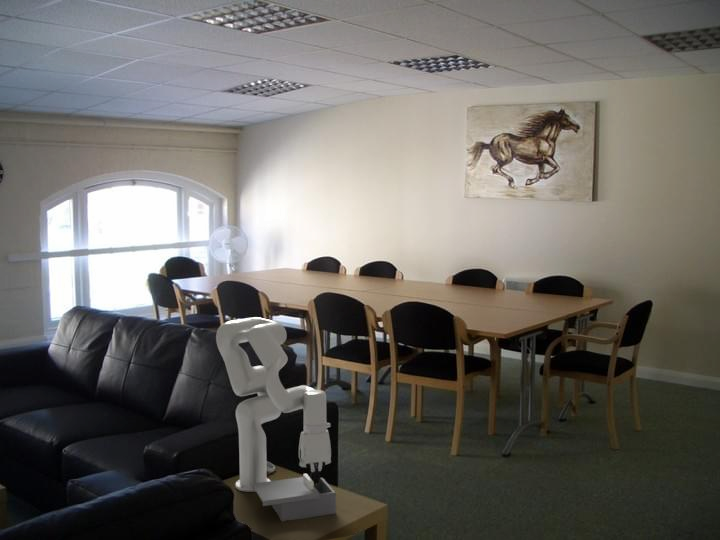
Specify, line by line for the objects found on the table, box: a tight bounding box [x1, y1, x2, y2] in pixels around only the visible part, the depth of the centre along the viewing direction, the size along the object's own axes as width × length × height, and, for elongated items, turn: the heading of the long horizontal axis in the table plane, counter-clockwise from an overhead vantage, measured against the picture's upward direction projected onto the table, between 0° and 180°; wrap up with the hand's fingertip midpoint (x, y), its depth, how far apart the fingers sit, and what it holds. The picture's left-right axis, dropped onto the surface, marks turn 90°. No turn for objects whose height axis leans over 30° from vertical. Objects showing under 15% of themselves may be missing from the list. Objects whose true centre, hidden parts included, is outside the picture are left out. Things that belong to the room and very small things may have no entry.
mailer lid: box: [252, 473, 319, 507], centre depth 244 cm, size 16×18×4 cm
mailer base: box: [271, 477, 337, 522], centre depth 247 cm, size 14×18×7 cm
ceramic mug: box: [266, 459, 276, 473], centre depth 281 cm, size 11×8×8 cm
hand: (315, 482), depth 248 cm, fingers closed
